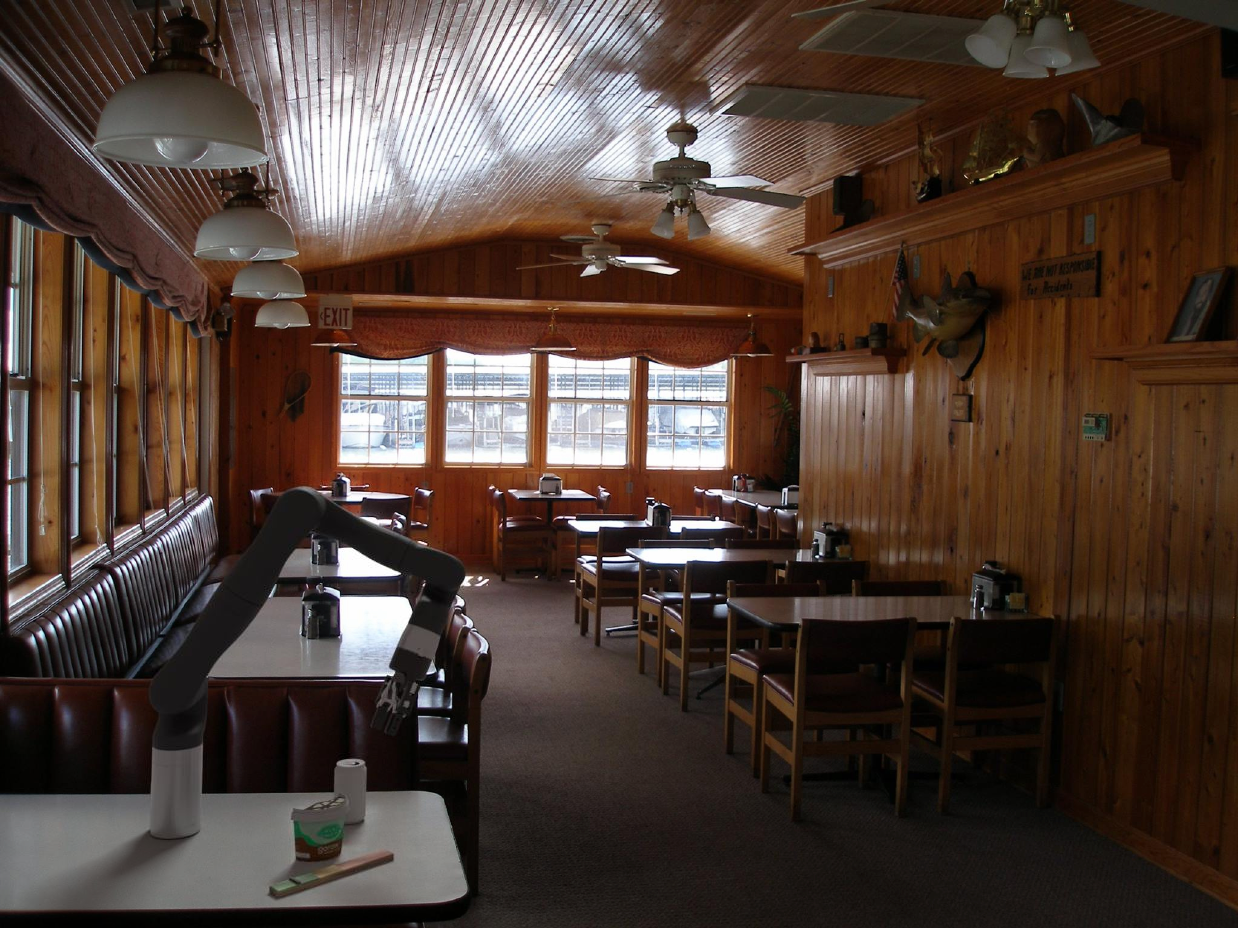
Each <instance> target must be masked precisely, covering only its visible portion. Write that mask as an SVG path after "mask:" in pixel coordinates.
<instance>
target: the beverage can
mask: <svg viewBox="0 0 1238 928" xmlns="http://www.w3.org/2000/svg"><path fill="white" fill-rule="evenodd" d="M367 768H368V767H366V761H364V760H363V759H358V758H348V759H347V758H346V759H342V760H341V759H340V760H338V761H337V762H336V766H335V768H334V783H333V789H334V791H333V799H334V798H337V797H338V793H342V794H344V795H345V796H346V797H347V800H348V803H349V808H350V810H349V812H348V813H347V814H346V815H345V824H344V825H355V824H358V823H361V822H362V821H363V820H364V819H365V818H366V808H367V807H366V805H367V803H366V802H367V771H368V769H367Z"/></svg>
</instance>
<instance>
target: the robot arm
mask: <svg viewBox="0 0 1238 928" xmlns="http://www.w3.org/2000/svg"><path fill="white" fill-rule="evenodd" d="M310 533H314V534H318V535H321V536H325V537H328V538H331V539H332V540H336V541H337V542H340V543H342V544H344V545H346V546H348V547H350V548H351V549H353V550H355V551H356V552H358V553H359V554H361V555H362V556H364V557H366V558H368V559H369V560H371V561H373V562H375V563H376V564H379V565H382V566H384V567H386V568H388V569H390V570H392V571H394V572H397V573H399V574H402V575H405V576H411V577H414V578H417V579H420V580H421V581H424V582H425V583H424V585H423V588H422V591H421V594H420V597H419V599H418V600H417V602H416V604H415V605H414V608H413V610H412V612H411V615H410V617H409V618H408V622H407V624H406V626H405V627H404V630H403V632H402V633H401V635H400V637H399V640H398V642H397V645H396V647H395V649H394V652H393V654H392V657H391V659H390V662H389V664H388V668H389V669H390V670H391V671H394V674H393V675H392V676H391V675H389V674H387V675H385V677H384V680H383V683H382V685H381V687H380V689H379V692H378V694H377V696H376V699H375V702H374V703H375V704H376V711H375V712H374V715H373V718H372V720H371V722H370V727H371V728H373V729H376V730H379V731H381V729H382V728H383V726H384V724H385V721H386V719H387V717H388V714H389V711H390V709H391V708H392V713H391V714H390V716H389V719H388V721H387V724H386V726H385V729H384V733H385V734H387V735H389V736H392V737H395V736H396V735H397V733H398V730H399V729H400V727H401V723H402V721H403V718H405V717H406V716H410V715H411V713H412V710H413V707H414V705H415V703H416V699H417V698H418V695H419V692H420V689H421V685H420V684H417V683H416V680H417V681H424V680H426V677H427V674H428V673H429V669H430V667H431V664H432V662H433V660H434V657H435V654H436V652H437V649H438V647H439V643H440V639H441V637H442V634H443V631H444V629H445V627H446V625H447V622H448V619H449V615H450V610H451V608H452V606H453V603H454V601H455V599H456V597H457V595H458V592H459V590H460V588H461V586H462V584H463V583H464V581H465V579H466V574H467V573H466V572H467V571H466V570H467V569H466V567H465V565H464V564H463V562H462V560H460V559H459V558H457V556H454V555H452V554H450V553H447V552H444V551H442V550H439V549H436V548H432V547H430V546H426V545H424V544H422V543H421V544H420V543H419V542H418V541H416V540H412V539H411V538H409V537H407V536H404V535H402V534H400V533H398V532H395V531H393V530H391V529H388V528H385V527H383V526H382V525H379V524H377V523H375V522H371V521H369V520H367V519H365V518H363V517H360V516H358V515H356V514H354V513H353V512H351V511H349V510H347V509H345V508H343V507H342V506H340V505H339V504H337V503H335V502H334V501H333V500H331V499H329V498H328V497H327V496H325V495H324V494H322V493H321V492H319V491H318V490H317V489H315V488H313V487H310V486H305V485H303V486H296V487H293V488H290V489H288V490H286V491H284V492H283V493H282V494H280V495H279V497H278V498H277V499H276V501H275V503H274V505H273V506H272V509H271V511H270V513H269V515H268V516H267V518H266V520H265V522H264V524H263V526H262V527H261V529H260V530H259V532H258V534H257V536H256V537H255V538H254V541H252V543H251V544H250V546H249V547H248V548H247V549H246V550H245V551H244V553H242V555H241V556H240V557H239V559H237V561H236V562H235V564H234V565H233V566H232V567H231V569H229V571H228V573H227V574H226V576H224V578H223V579H222V581H221V582H220V583H219V585H218V586H217V588H216V589H215V591H214V592H213V593H212V595H211V597H210V599H209V600H208V602H207V603H206V605H205V607H204V608H203V609H202V611H201V612H200V614H199V616H198V617H197V619H196V621H195V622H194V624H193V626H192V628H191V630H190V631H189V632H188V635H187V636H186V638H185V639H184V641H183V642H182V644H181V645H180V646H179V648H178V649H177V650H176V651H175V653H174V654H172V656H171V657H170V658H169V660H167V662H166V663H165V664H164V665H163V666H162V668H160V669H159V671H158V672H157V673H156V674H155V675H154V677H153V678H152V680H151V682H150V684H149V688H148V699H149V702H150V704H151V707H153V709H154V710H155V711H156V712H157V713H158V718H157V722H156V726H155V728H154V730H153V733H152V744H151V745H152V748H151V749H152V750H151V753H152V754H151V782H150V806H149V807H150V808H149V809H150V811H149V813H150V814H149V815H150V816H149V829H150V830H149V831H150V833H149V834H150V835H151V836H152V837H154V838H157V839H165V840H169V839H170V840H171V839H181V838H186V837H188V836H192V835H195V834H196V833H198V832H200V830H201V828H202V797H203V796H202V795H203V794H202V791H203V790H202V789H203V754H204V753H203V752H204V750H203V749H204V748H203V747H204V746H203V745H204V732H205V730H206V724H207V718H208V716H207V715H208V699H209V682H208V676H209V674H210V673H211V671H212V670H213V667H214V666H215V665H216V664H217V662H218V661H219V659H220V658H221V657H222V656H223V655H224V653H226V652H227V651H228V649H229V648H231V646H233V645H234V643H235V642H236V641H237V640H238V639H239V638H240V637H241V636H242V635H243V634H244V632H245V631H246V630H247V628H248V627H250V625H251V623H252V622H253V621H254V619H255V618H256V617H257V616H258V614H259V613H260V611H261V610H262V609H263V607H264V606H265V604H266V602H267V600H268V599H269V597H270V595H271V594H272V592H273V590H274V588H275V587H276V584H277V582H278V580H279V577H280V575H281V573H282V571H283V568H284V567H285V564H286V563H287V561H288V560H289V558H290V557H291V555H292V554H294V552H295V550H296V549H297V548H298V547H299V546H300V545H301V543H303V541H304V540H305V539H306V538H307V536H308V535H310Z"/></svg>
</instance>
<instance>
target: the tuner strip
mask: <svg viewBox="0 0 1238 928" xmlns="http://www.w3.org/2000/svg"><path fill="white" fill-rule="evenodd" d="M394 856H395V853H394V852H392V851H389V850H387V849H386V848H382V849H381V850H377V851H374V852H371V853H370V852H369V853H368V854H365V855H361V856H358V857H355V858H351V859H348V860H346V861H343V862H340V863H336V864H333V865H330V866H327V867H324V868H320V869H317V870H315V871H311V872H309V873H305V874H302V875H299V876H295V877H293V876H289V877H288V879H285V880H284V881H280V882H277V883H274V884H270V885H269V887H268V890H269V891H268V893H270V894H272V895H274V896H276V897H278V898H281V897H283V896H287V895H290V894H292V893H293V894H294V893H297V892H299V891H302V890H305V889H308V888H311V887H313V886H317V885H320V884H323V883H326V882H329V881H333V880H335V879H339V878H341V877H343V876H347V875H350V874H354V873H357V872H360V871H363V870H365V869H368V868H372V867H375V866H378V865H381V864H383V863H387V862H389V861H393V860H394V858H395V857H394ZM392 859H393V860H392ZM386 861H387V862H386ZM377 864H378V865H377ZM304 888H305V889H304Z"/></svg>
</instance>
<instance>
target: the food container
mask: <svg viewBox="0 0 1238 928" xmlns="http://www.w3.org/2000/svg"><path fill="white" fill-rule="evenodd" d="M349 810H350V808H349V803H348V800H347V797H346V796H345V795H344V794H342V793H338V797H337V798H334V797H333V799H329V800H324V801H317V802H315V803H314V804H312V805H310V806H309V807H306V808H303V809H300V808H295V807H293V808H292V811H291V815H290V820H291V821H293V832H294V833H293V834H294V837H293V838H294V853H295V856H294V857H295V861H298V862H302V861H304V862H303V863H320V861H321V862H327V861H330V859H331V860H333V859H335V858H337V857H339V856H340V855H341V853H342V850H343V849H342V848H343V840H344V839H343V838H344V833H345V832H344V830H345V825H346V824H345V815H346V814H347V813H348V812H349Z"/></svg>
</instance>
